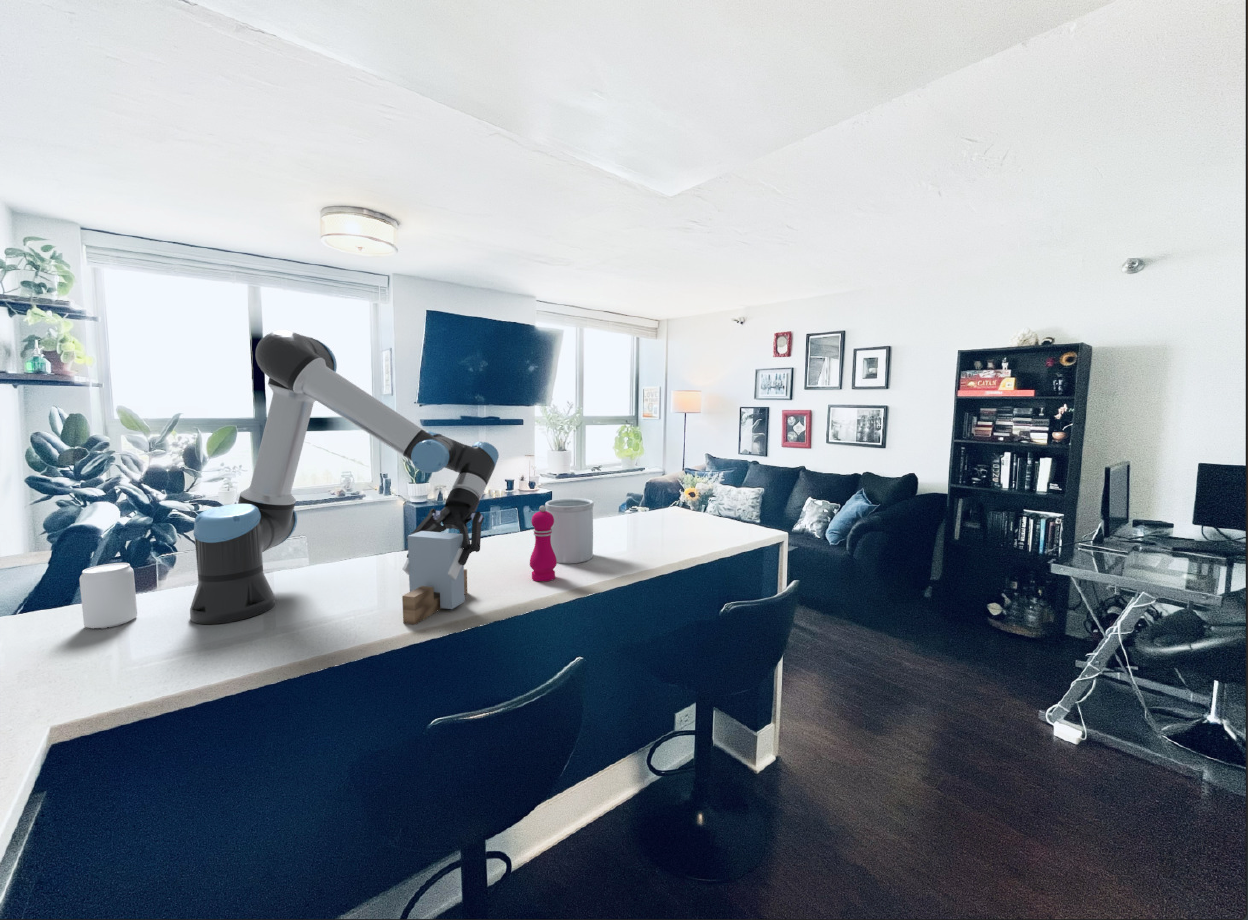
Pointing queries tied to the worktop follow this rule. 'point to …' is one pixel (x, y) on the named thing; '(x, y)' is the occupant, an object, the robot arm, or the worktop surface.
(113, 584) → the beverage can
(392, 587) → the worktop surface
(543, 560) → the pepper mill
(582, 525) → the utensil holder
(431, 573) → the tall grey pillar
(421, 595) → the walnut slotted rail
